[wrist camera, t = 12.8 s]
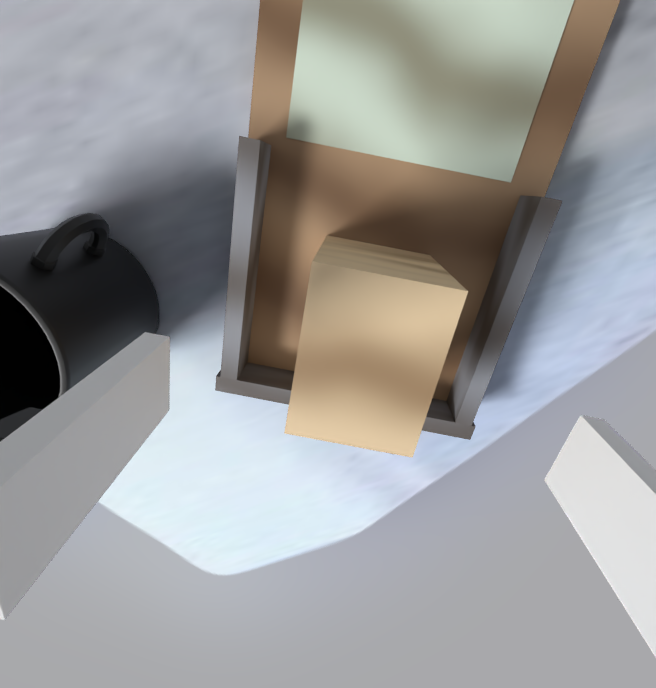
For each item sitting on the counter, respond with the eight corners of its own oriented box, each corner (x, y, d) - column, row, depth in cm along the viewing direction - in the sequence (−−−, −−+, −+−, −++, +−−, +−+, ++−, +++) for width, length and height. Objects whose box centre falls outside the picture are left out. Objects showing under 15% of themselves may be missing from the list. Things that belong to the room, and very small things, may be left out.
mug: (208, 259, 24) (128, 300, 15) (124, 386, 28) (24, 473, 19) (70, 155, 22) (-106, 136, 13) (2, 308, 26) (-165, 366, 18)
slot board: (275, -106, 17) (256, -173, 14) (622, -34, 17) (684, -84, 14) (232, 365, 26) (215, 390, 23) (456, 408, 26) (470, 439, 23)
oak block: (326, 235, 22) (312, 261, 14) (429, 255, 22) (468, 291, 14) (305, 359, 25) (284, 433, 17) (395, 376, 25) (412, 457, 17)
